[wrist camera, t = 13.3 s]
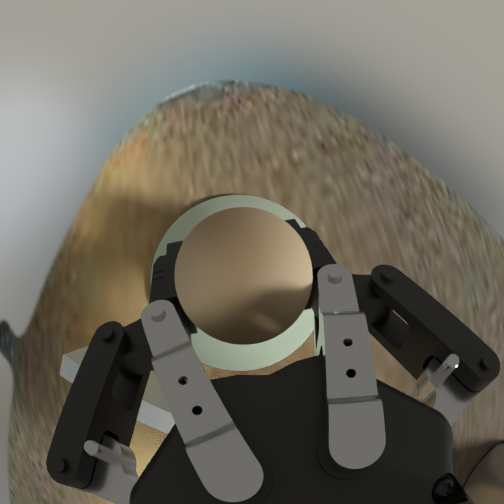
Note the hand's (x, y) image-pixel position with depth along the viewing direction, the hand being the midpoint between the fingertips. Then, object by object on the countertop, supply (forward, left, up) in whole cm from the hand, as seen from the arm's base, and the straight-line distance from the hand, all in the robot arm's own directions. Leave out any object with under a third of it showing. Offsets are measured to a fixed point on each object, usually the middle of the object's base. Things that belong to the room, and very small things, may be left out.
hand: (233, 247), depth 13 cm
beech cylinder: (0, +2, -4) cm, 4 cm away
